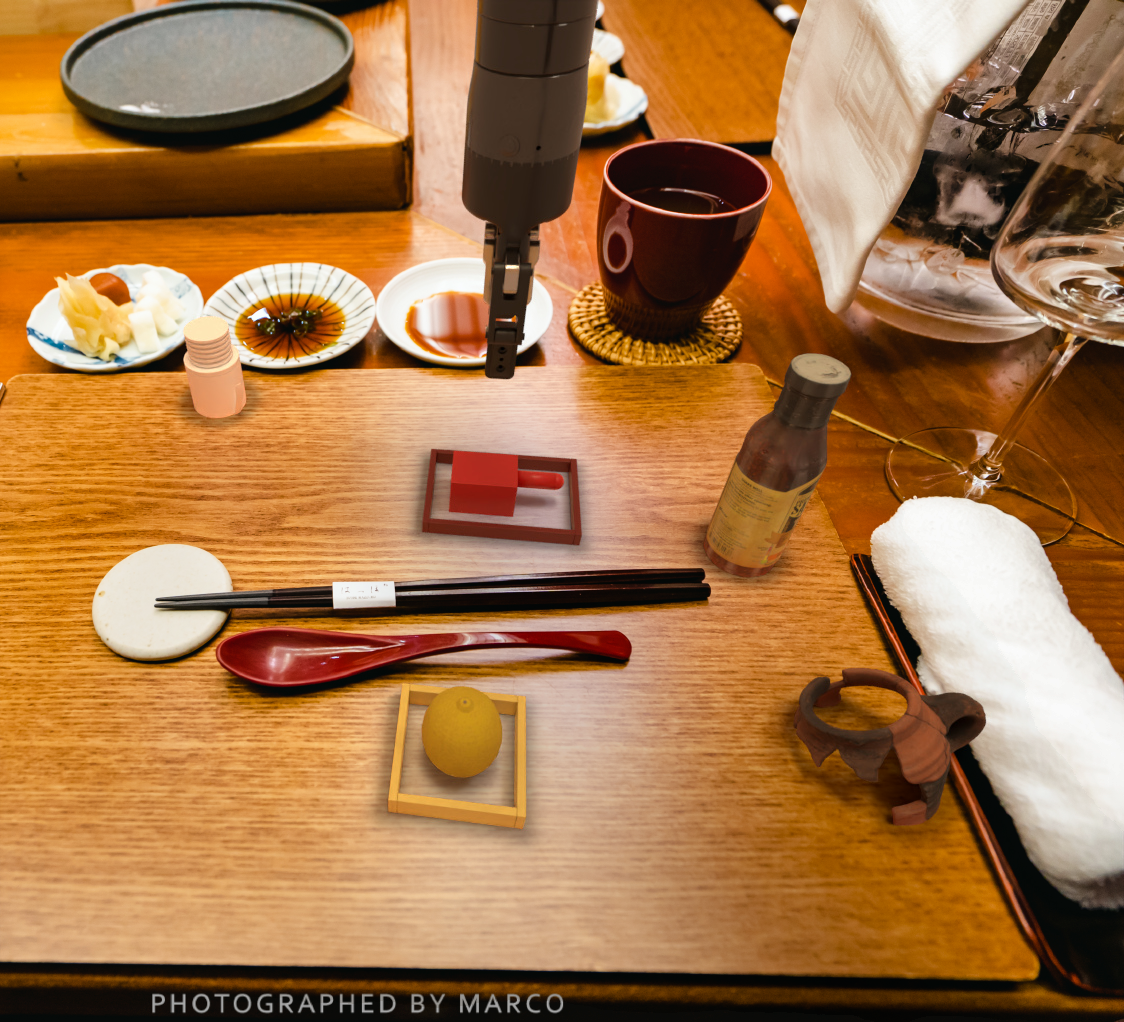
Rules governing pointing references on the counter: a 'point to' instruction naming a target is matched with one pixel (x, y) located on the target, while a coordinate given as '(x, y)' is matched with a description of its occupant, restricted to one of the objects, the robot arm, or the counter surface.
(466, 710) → the lemon
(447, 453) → the dark red rectangular frame
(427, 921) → the counter surface
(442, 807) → the yellow square frame
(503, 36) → the robot arm
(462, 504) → the red peg block
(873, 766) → the broken clay pot
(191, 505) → the counter surface
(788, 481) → the sauce bottle
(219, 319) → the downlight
